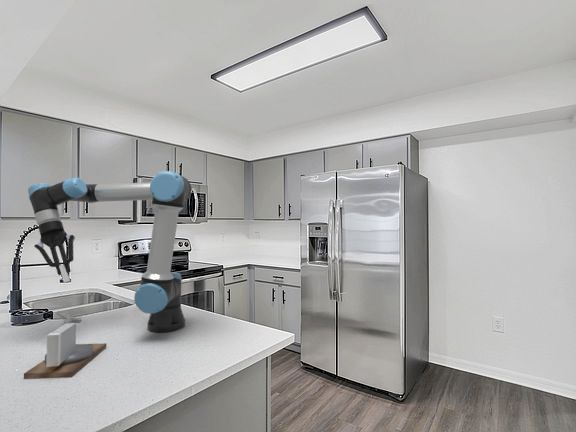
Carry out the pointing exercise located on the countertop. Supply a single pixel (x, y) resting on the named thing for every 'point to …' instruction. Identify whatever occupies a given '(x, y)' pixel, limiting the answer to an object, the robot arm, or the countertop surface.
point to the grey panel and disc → (65, 347)
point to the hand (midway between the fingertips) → (67, 281)
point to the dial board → (62, 366)
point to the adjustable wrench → (68, 317)
